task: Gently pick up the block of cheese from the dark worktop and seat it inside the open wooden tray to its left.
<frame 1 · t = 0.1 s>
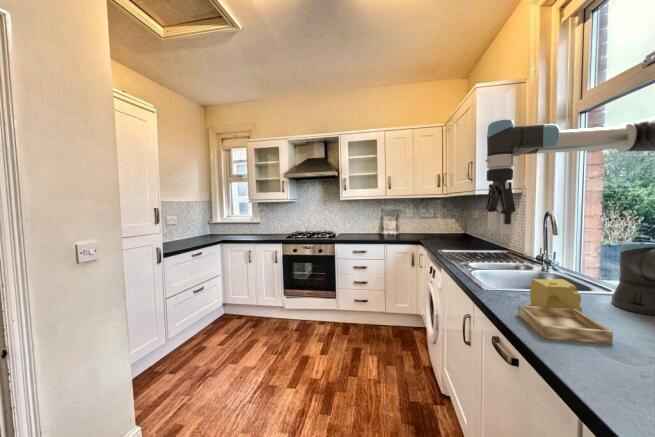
hand: (498, 232, 94), 28 cm above the countertop, fingers open, 13 cm apart
cheese: (553, 311, 96), on the countertop
wooden tray: (560, 327, 83), on the countertop
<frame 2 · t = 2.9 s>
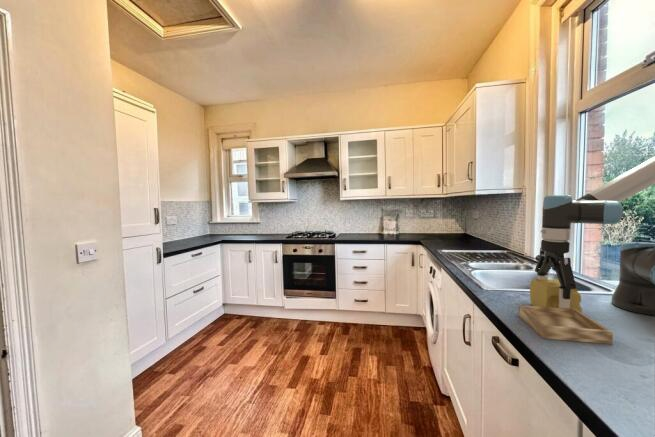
hand: (552, 300, 96), 3 cm above the countertop, fingers open, 13 cm apart
nothing on the countertop moved.
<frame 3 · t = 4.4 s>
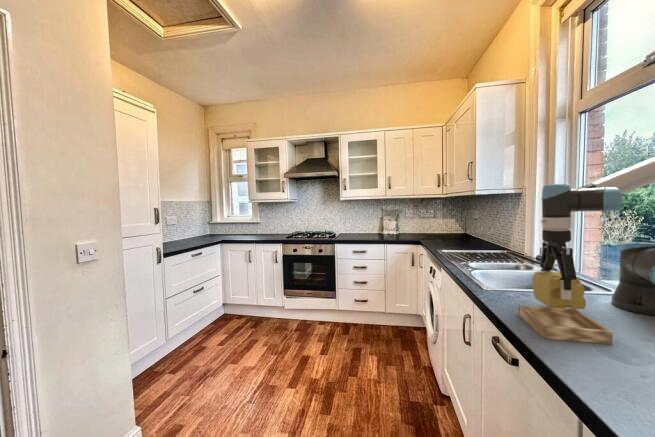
hand: (556, 293, 96), 6 cm above the countertop, fingers closed on cheese, 10 cm apart
cheese: (557, 304, 96), point 2 cm above the countertop, touching gripper
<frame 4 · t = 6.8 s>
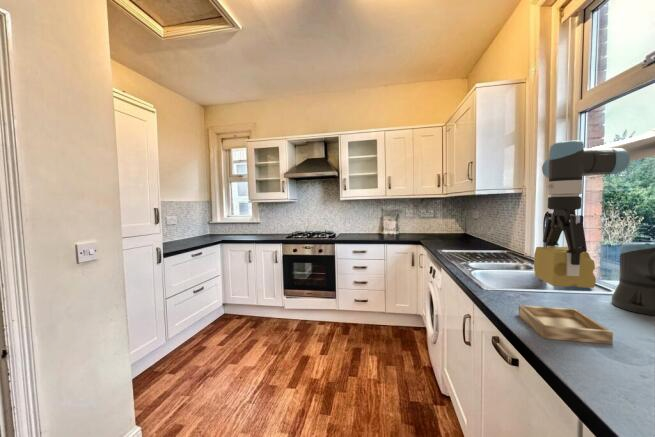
hand: (561, 270, 82), 17 cm above the countertop, fingers closed on cheese, 10 cm apart
cheese: (561, 282, 83), point 14 cm above the countertop, touching gripper
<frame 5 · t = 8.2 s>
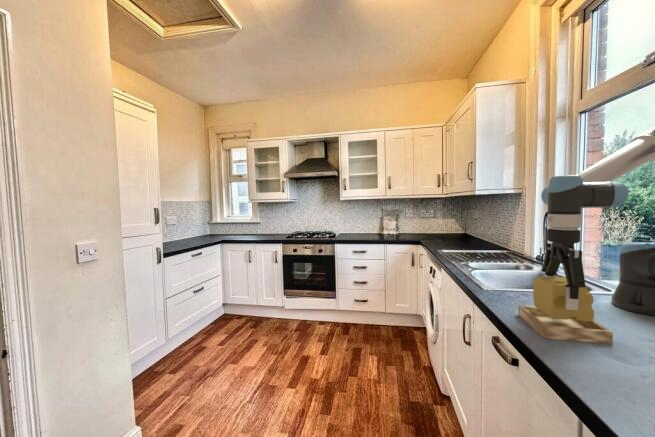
hand: (560, 302, 83), 8 cm above the countertop, fingers closed on cheese, 10 cm apart
cheese: (560, 314, 83), point 4 cm above the countertop, touching gripper
when the fingers open (5 cm above the countertop, at t = 9.4 s): cheese stays where it is, resting on wooden tray.
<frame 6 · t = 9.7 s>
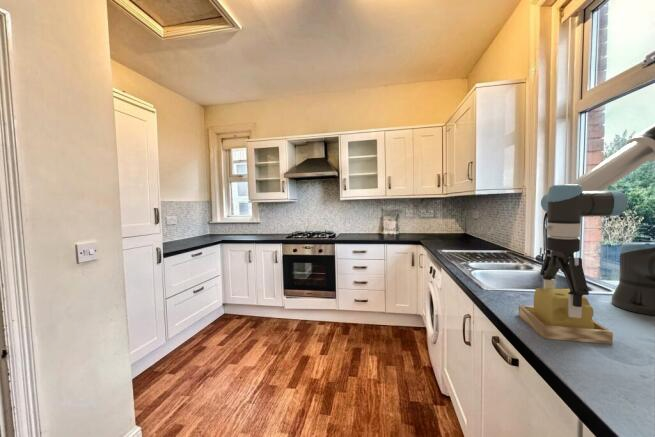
hand: (560, 307, 83), 6 cm above the countertop, fingers open, 13 cm apart
cheese: (561, 326, 83), point 1 cm above the countertop, touching wooden tray
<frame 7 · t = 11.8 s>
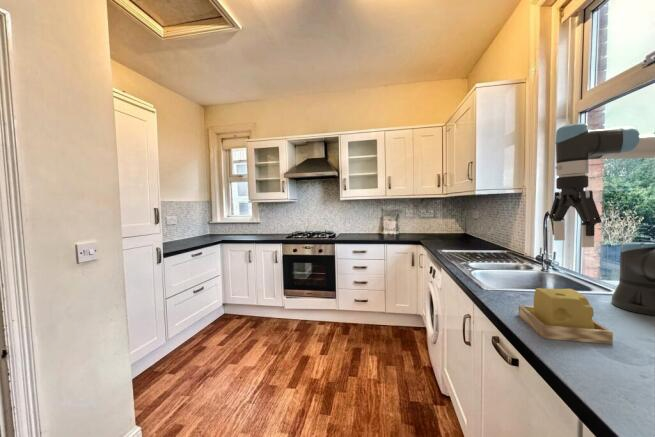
hand: (572, 243, 88), 25 cm above the countertop, fingers open, 13 cm apart
nothing on the countertop moved.
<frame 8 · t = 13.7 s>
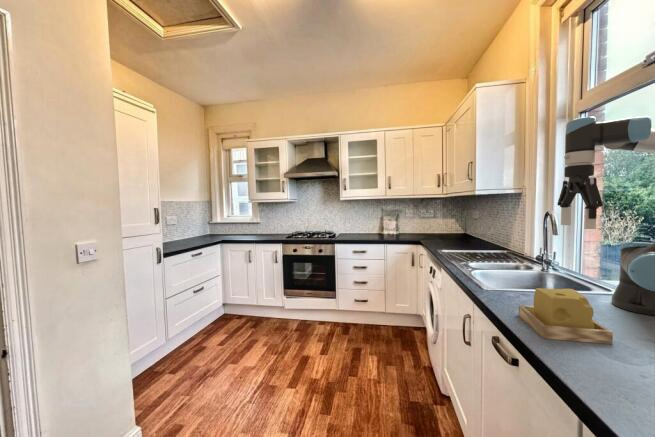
hand: (576, 227, 96), 29 cm above the countertop, fingers open, 13 cm apart
nothing on the countertop moved.
at the end: cheese inside the target area on the wooden tray (0.2 cm from its centre), point 0.6 cm above the wooden tray's base; cheese tilted 0°; cheese touching wooden tray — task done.
